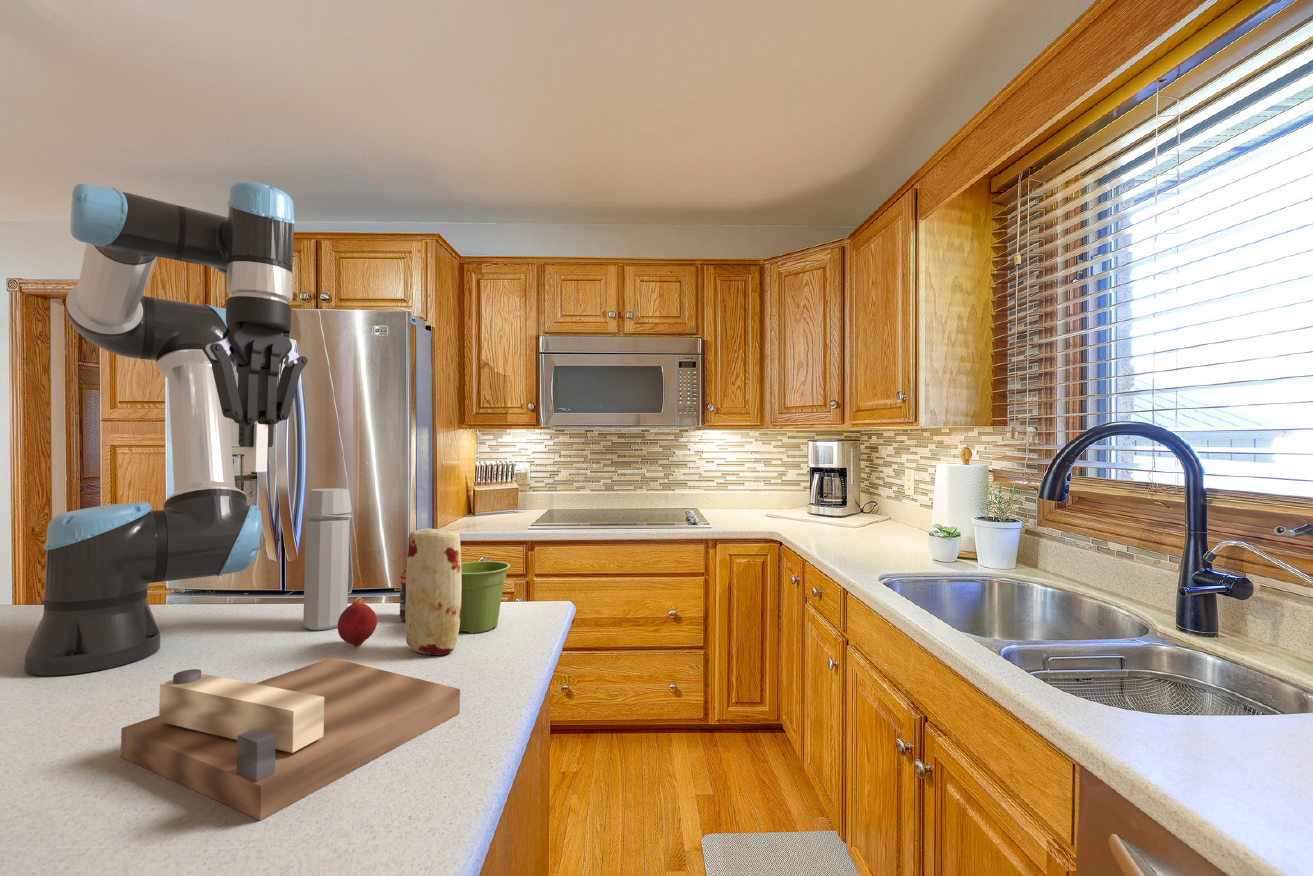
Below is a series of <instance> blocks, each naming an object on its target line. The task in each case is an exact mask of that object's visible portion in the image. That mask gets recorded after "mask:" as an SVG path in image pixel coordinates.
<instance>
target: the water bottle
mask: <svg viewBox="0 0 1313 876" xmlns="http://www.w3.org/2000/svg"><path fill="white" fill-rule="evenodd" d="M308 492H309V493H308V501H307V507H306V513H304V516H305V518H309V519H306V521H305V541H304V542H305V546H304V547H305V548H304V553H305V554H304V583H303V584H304V588H303V624H302V625H303V627H304V628H305V629H307V630H311V631H327V630H332V629H333V630H334V629H336V628H337V629H338V627H337V625H338V620H339V617H340V616H341V614H342V613H343V612H344V611H345V609H346V608H347V607H348V602H349V601H348V600H349V599H348V597H349V596H348V595H349V594H351V593H352V591H353V584H354V573H353V570H354V569H353V558H352V545H351V544H352V543H351V534H350V532H351V531H350V523H351V522H350V521H351V518H352V519H353V518H355V517H354V516H353V515H352V514H351V512H352V507H351V497H350V496H351V495H350V494H351V493H350V488H342V487H341V488H337V487H336V488H334V487H333V488H327V487H326V488H315V489H309V491H308Z"/></svg>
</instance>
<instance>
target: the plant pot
mask: <svg viewBox="0 0 1313 876" xmlns="http://www.w3.org/2000/svg"><path fill="white" fill-rule="evenodd" d="M510 568H511V564H510V563H507V562H505V561H500V560H499V561H498V560H497V561H495V560H476V561H466V562H461V573H462V592H461V615H460V627H459V632H460V633H462V632H468V633H471V634H478V633H486V632H488V631H491V630H492V629H494V628H496V627H498V622H499V621H498V620H499V616H500V608H501V603H502V596H503V590H504V585H505V581H506V578H507V573H508V570H509V569H510Z"/></svg>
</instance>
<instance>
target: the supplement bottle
mask: <svg viewBox="0 0 1313 876" xmlns="http://www.w3.org/2000/svg"><path fill="white" fill-rule="evenodd" d="M405 567H407V560H406V562H405ZM399 580H400V581H399V582H400V583H399V584H400V585H399V590H400V591H399V619H400V621H402V622H403V623H406V621H405V603H406V569H405V570H404V571H403V572H402V573H401V574H400V579H399Z"/></svg>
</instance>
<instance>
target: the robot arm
mask: <svg viewBox="0 0 1313 876" xmlns="http://www.w3.org/2000/svg"><path fill="white" fill-rule="evenodd" d="M228 196H229V198H228V202H227V203H226V204H227V206H228V213H227V216H223V215H220V214H215V213H213V212H208V211H204V210H199V209H195V208H191V207H187V206H182V205H178V204H174V203H171V202H166V201H163V200H157V199H153V198H150V197H146V196H142V195H137V194H133V193H129V192H126V191H122V190H120V189H118V188H116V187H115V188H114V187H104V186H99V185H96V184H95V185H94V184H89V183H78V184H76V185H75V186H73V189H72V195H71V197H72V198H71V199H72V200H71V207H70V210H71V211H70V233H71V235H72V237H73V238H74V239H75V240H77V241H79V242H81V243H85V244H86V245H85V250H84V255H83V258H82V259H83V260H82V264H81V269H80V273H79V274H80V275H79V279H78V283H77V284H76V285H74V286H72V288H70V290H69V291H68V293H67V296H66V297H65V313H66V316H67V319H68V321H69V322H70V324H71V326H72V327H73V328H74V330H75V331H76V332H78V333H79V334H80V335H81V336H82V337H83V338H84V339H86V340H87V341H88V342H90V343H91V344H93V345H95V346H96V347H98V348H101V350H102V349H103V350H105V351H107V352H109V353H112V354H114V355H117V356H121V357H124V358H125V357H126V358H130V359H139V360H149V361H155V364H156V365H155V366H156V370H157V371H158V372H159V374H160V375H162V376H164V377H165V378H167V383H168V384H167V387H168V401H169V402H168V403H169V417H170V418H169V420H170V435H171V453H172V454H171V455H172V469H173V470H172V471H173V488H174V491H173V493H172V494H170V496H168V497H167V498H166V499H165V500H164V502H163V509H161V510H158V509H157V510H153V509H152V505H151V504H150V503H149V502H148V501H134V502H127V503H125V502H123V503H114V504H107V505H99V506H92V507H86V508H80V509H76V510H71V511H67V512H63V513H60V514H57V515H56V516H54V517H53V518H51V520H50V521H49V522H48V524H47V531H46V542H45V544H44V546H43V550H44V551H45V552H46V555H45V573H44V574H45V575H44V591H43V592H44V595H43V614H42V617H41V619H40V622H39V624H38V625H37V628H36V630H35V633H34V635H33V636H32V638H31V640H30V643H29V645H28V647H27V650H26V652H25V654H24V667H23V668H24V669H23V670H24V672H25V673H27V674H30V675H33V676H34V675H35V676H47V677H48V676H65V675H66V676H67V675H74V674H75V675H77V674H82V673H90V672H91V673H92V672H94V671H95V672H96V671H101V670H106V669H111V668H115V667H116V668H117V667H119V666H123V665H127V664H130V663H134V662H137V661H139V660H142V659H145V658H147V657H150V656H152V655H154V654H155V653H157V652H158V651H159V650H160V648H161V632H160V629H159V627H158V624H157V622H156V619H155V616H154V614H153V612H152V610H151V606H150V604H149V602H148V591H149V590H148V588H149V585H150V584H152V583H153V584H154V583H162V582H163V583H164V582H171V581H179V580H187V579H188V580H189V579H197V578H204V577H205V578H206V577H213V576H214V577H215V576H217V577H221V576H222V575H228V574H234V573H240V572H243V571H245V570H247V569H249V567H251V565H252V564H253V563H254V561H255V559H256V555H257V553H258V549H259V546H260V540H261V539H260V538H261V533H262V512H261V508H260V507H259V506H258V505H254V504H252V503H251V504H248V498H247V494H246V492H244V491H242V490H241V489H239V488H238V487H236V482H235V469H234V462H233V448H232V439H231V428H230V427H231V426H230V420H233V422H234V423H236V424H238V446H239V447H240V448H244V450H243V451H244V452H243V472H244V473H245V472H246V473H250V472H251V473H267V472H268V448H272V447H273V445H274V427H275V425H277V424H279V423H280V422H282V421H286V420H288V419H289V416H290V414H291V410H292V406H293V403H294V398H295V396H296V391H297V388H298V385H299V380H300V377H301V376H300V375H301V373H302V371H303V370H304V368H305V367H306V366H307V364H308V362H309V360H308V357H306V356H304V355H303V356H300V355H299V354H298V353H297V352H296V351H295V350H293V344H292V342H291V339H290V332H291V330H292V307H291V305H290V304H289V303H291V302H292V301H293V265H294V264H293V261H294V260H293V259H294V257H293V256H294V235H295V234H294V231H295V229H294V228H295V224H296V220H295V212H294V209H295V208H294V201H293V199H292V198H291V196H289V194H287V192H285V191H282V190H281V189H279V188H278V187H275V186H271V185H267V184H264V183H259V182H251V181H241V182H237V183H234V184H233V185H231V187H230V189H229V195H228ZM158 258H162V259H163V258H164V259H168V260H174V261H179V262H184V263H189V264H195V265H199V266H205V267H210V268H214V269H215V270H217V271H218V272H220V273H222V274H223V275H225V276H226V292H227V294H228V295H229V296H230V297H228V298H227V299H226V300H225V308H222V307H217V306H212V305H210V304H205V303H202V304H198V303H197V304H196V303H191V302H183V301H177V300H171V299H166V298H161V297H160V298H159V297H152V296H146V295H144V292H145V290H146V288H147V285H148V282H149V279H150V277H151V275H152V272H153V270H154V267H155V264H156V261H157V259H158ZM282 363H283V368H282V370H281V373H280V365H281V364H282ZM234 368H235V371H236V373H237V380H236V377H235V372H234ZM279 375H280V377H279V380H278V376H279Z"/></svg>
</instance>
